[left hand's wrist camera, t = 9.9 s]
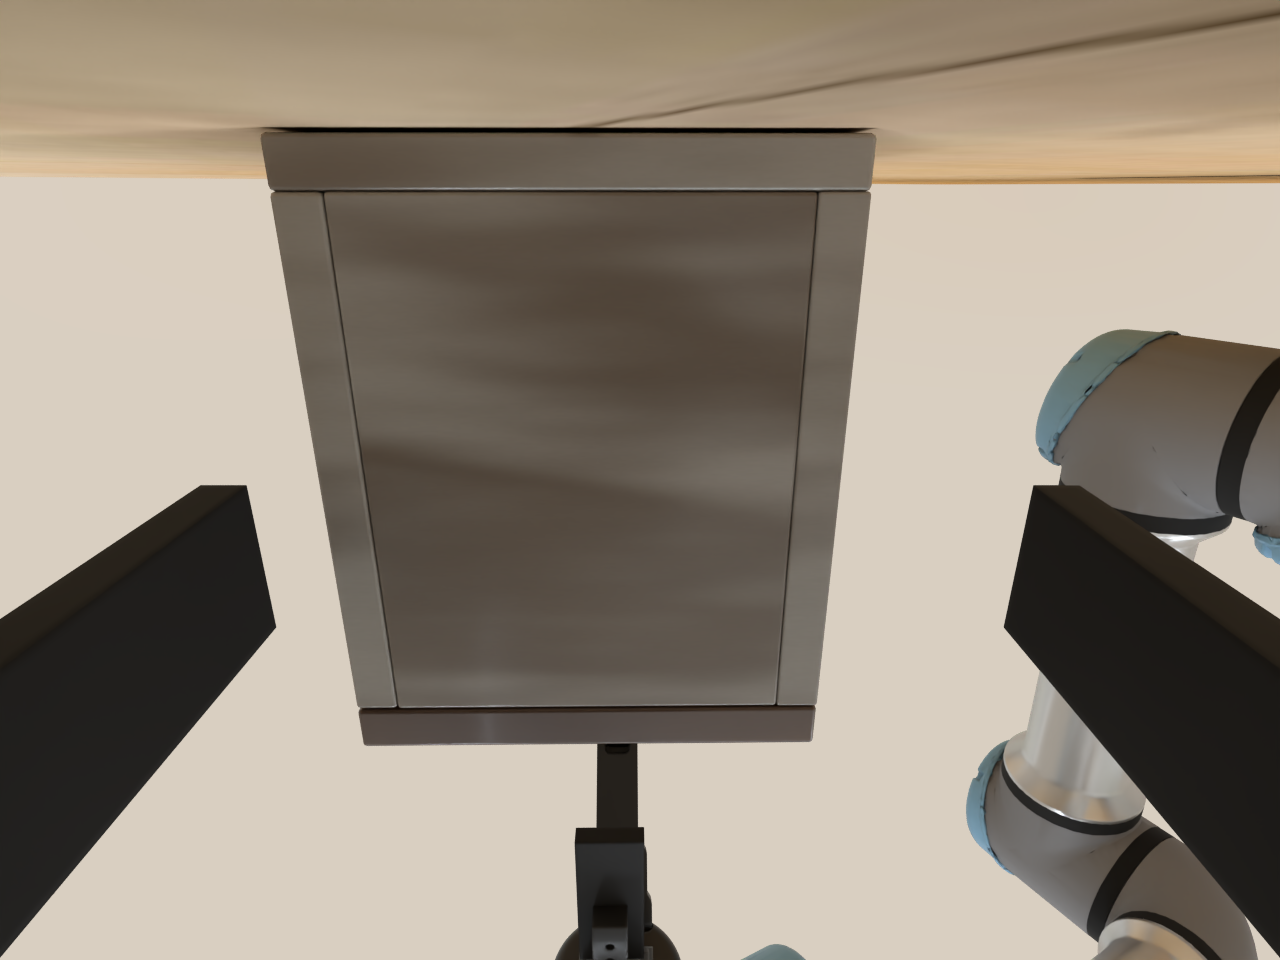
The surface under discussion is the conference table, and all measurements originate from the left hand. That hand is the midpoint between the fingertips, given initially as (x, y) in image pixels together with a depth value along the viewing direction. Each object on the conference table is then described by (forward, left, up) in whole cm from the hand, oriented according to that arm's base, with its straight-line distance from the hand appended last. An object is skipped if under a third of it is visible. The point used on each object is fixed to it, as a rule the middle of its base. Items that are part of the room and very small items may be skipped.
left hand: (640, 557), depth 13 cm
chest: (+8, -5, -7) cm, 12 cm away
